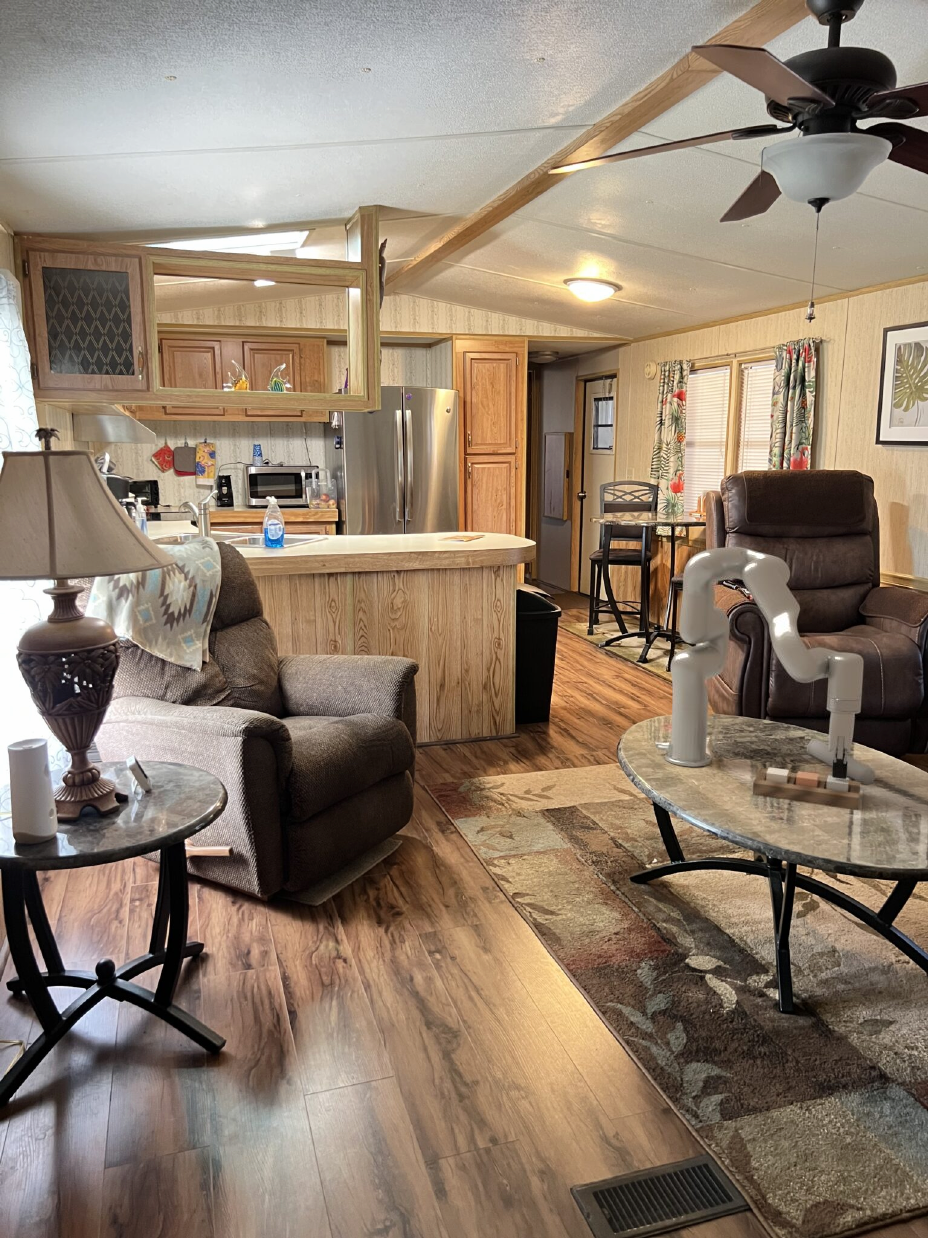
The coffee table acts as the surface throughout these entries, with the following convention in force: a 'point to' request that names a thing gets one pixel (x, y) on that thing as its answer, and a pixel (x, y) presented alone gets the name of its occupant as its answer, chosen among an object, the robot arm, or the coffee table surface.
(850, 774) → the tube
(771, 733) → the coffee table surface
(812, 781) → the key mid
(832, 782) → the key right
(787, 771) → the key left
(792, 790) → the wooden tray
